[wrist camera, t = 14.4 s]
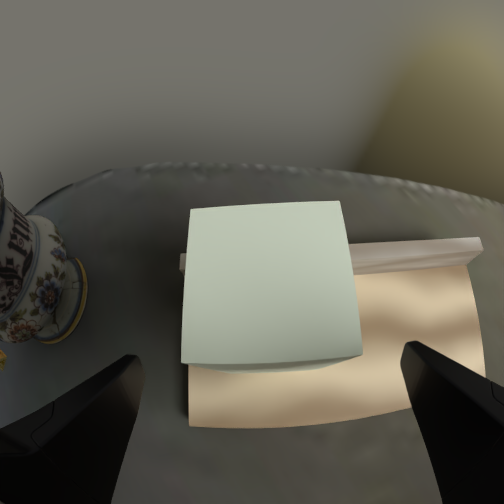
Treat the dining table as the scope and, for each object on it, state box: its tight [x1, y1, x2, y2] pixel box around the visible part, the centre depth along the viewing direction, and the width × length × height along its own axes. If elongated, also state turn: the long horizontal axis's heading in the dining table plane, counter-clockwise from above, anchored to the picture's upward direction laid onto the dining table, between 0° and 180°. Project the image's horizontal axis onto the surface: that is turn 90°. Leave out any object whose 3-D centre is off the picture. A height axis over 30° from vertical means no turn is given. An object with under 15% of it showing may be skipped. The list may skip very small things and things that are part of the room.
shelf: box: [179, 237, 485, 428], centre depth 18 cm, size 12×24×4 cm, turn 92°
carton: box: [181, 201, 363, 374], centre depth 15 cm, size 6×6×11 cm
